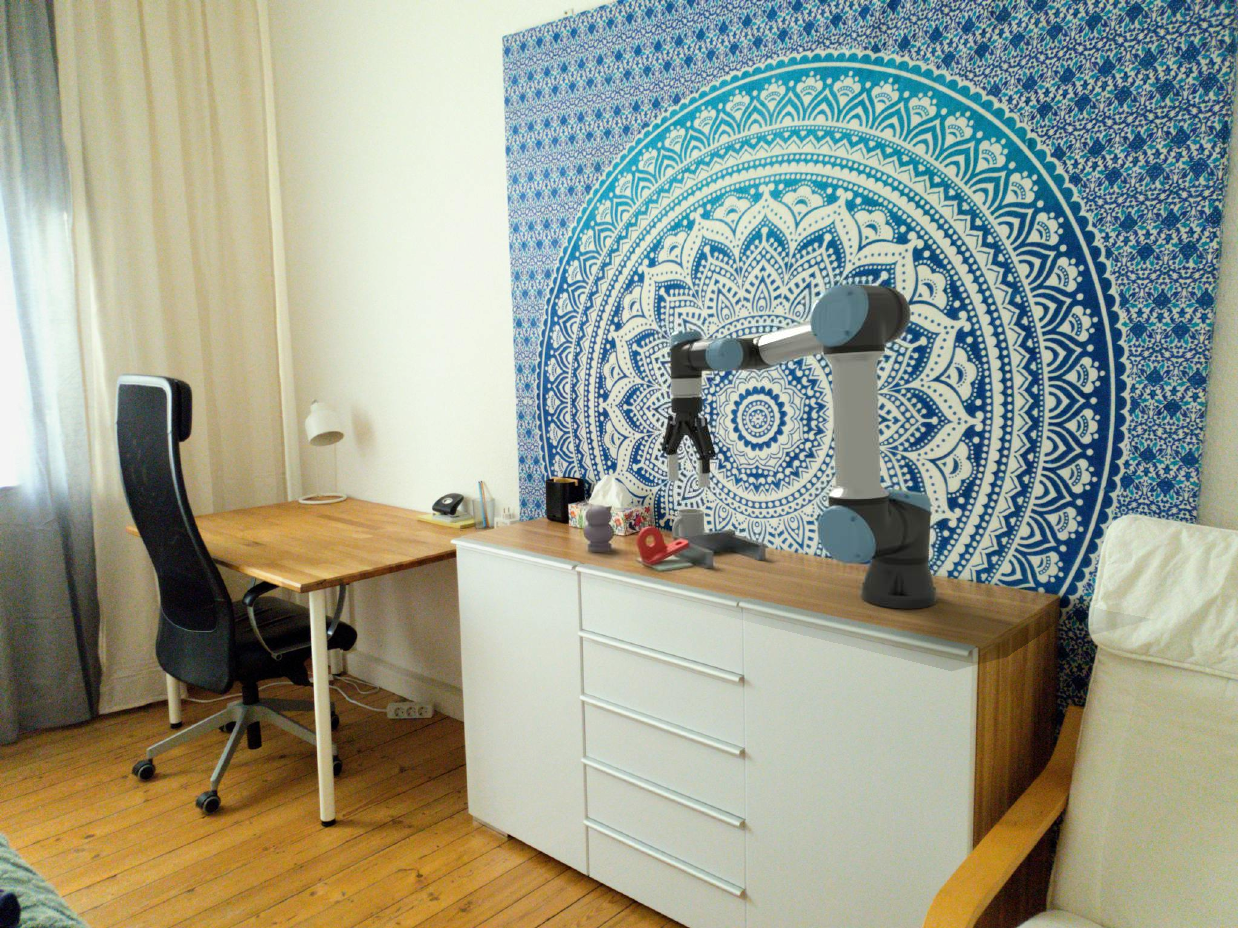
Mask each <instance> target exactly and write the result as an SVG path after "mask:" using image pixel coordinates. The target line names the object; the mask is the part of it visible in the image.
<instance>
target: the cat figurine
mask: <svg viewBox="0 0 1238 928" xmlns="http://www.w3.org/2000/svg"><path fill="white" fill-rule="evenodd" d="M612 507H613V505H609V506H605V505H602V504H593V503H590V506H589V508H588V509H587V510H586V512H585V520H586V522H587V524H586V525H584V528H583V536H584V538H585V539H586V540H587V541H588V542H589V543H588V544H587V551H589V552H591V553H607V552H610V551H612V548H613V545H612V543H611V542H610V541H611V540H613V538H614V537H615V529H614V527H613V526H612V525H611V521H612V516H613V515H612V513H611V510H612Z"/></svg>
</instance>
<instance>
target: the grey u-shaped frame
mask: <svg viewBox="0 0 1238 928" xmlns="http://www.w3.org/2000/svg"><path fill="white" fill-rule="evenodd" d="M680 538H682V539H684V540H687V541H689V545H690V546H689V547H688V548H686V549H684V550H682V551H680V552H678V553H676V554H674V555H673V557H676V558H679V559H681V560H684V561H686V562H689V563H691V564H693V565H696V566H698V567H701V568H704V569H713V568H714V553H719V552H725V551H730V552H733V553H736V554H739V555H742V556H744V557H748V558H750V559H753V560H756V561H765V560H766V559H767V558H766V553H767V551H766V547H767V546H766V545H767V544H766V543H764V542H761V541H758V540H754V539H751V538H748V537H745V536H741V535H739V534H736V530H735V529H732V528H731V529H730V528H729V529H724V530H716V531H708V532H704V533H699V534H691V535H684V536H676V537H674V536H673V542H674V541H676V540H678V539H680Z"/></svg>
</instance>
